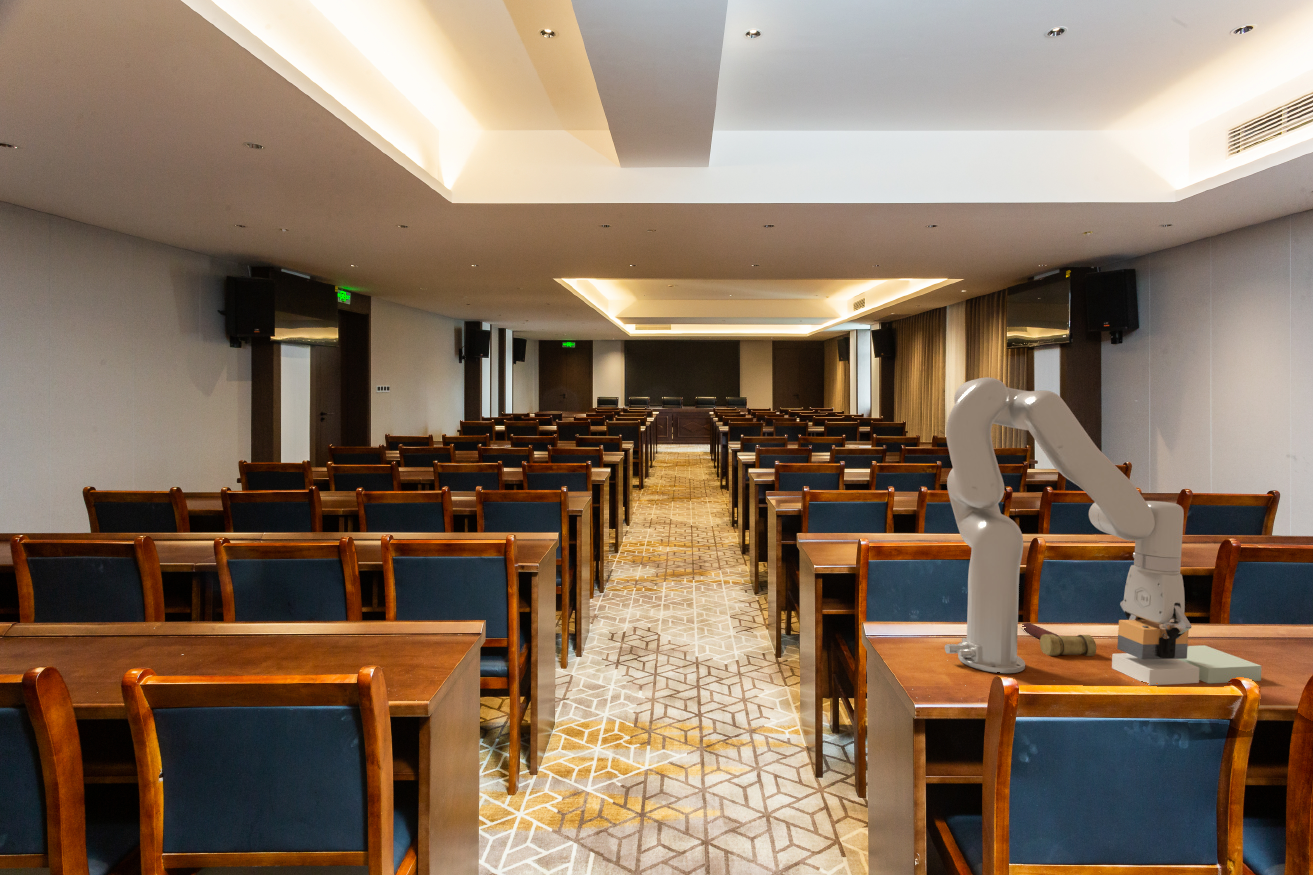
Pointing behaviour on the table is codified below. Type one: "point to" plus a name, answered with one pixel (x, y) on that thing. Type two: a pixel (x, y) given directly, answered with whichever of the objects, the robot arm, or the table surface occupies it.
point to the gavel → (1062, 642)
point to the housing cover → (1145, 632)
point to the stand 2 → (1220, 665)
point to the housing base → (1148, 649)
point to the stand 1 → (1156, 669)
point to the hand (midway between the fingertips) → (1151, 650)
